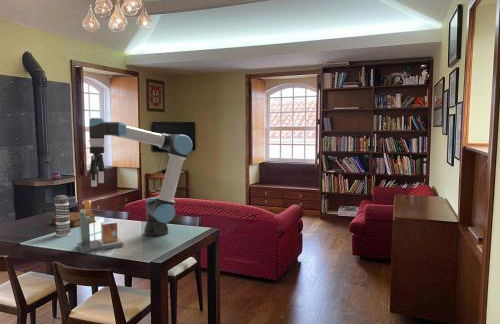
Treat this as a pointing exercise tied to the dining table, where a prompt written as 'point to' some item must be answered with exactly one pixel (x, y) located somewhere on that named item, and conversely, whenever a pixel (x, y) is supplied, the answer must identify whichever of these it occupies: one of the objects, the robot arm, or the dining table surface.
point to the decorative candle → (62, 215)
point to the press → (95, 244)
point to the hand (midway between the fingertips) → (97, 184)
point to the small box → (109, 231)
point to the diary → (75, 219)
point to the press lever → (86, 209)
